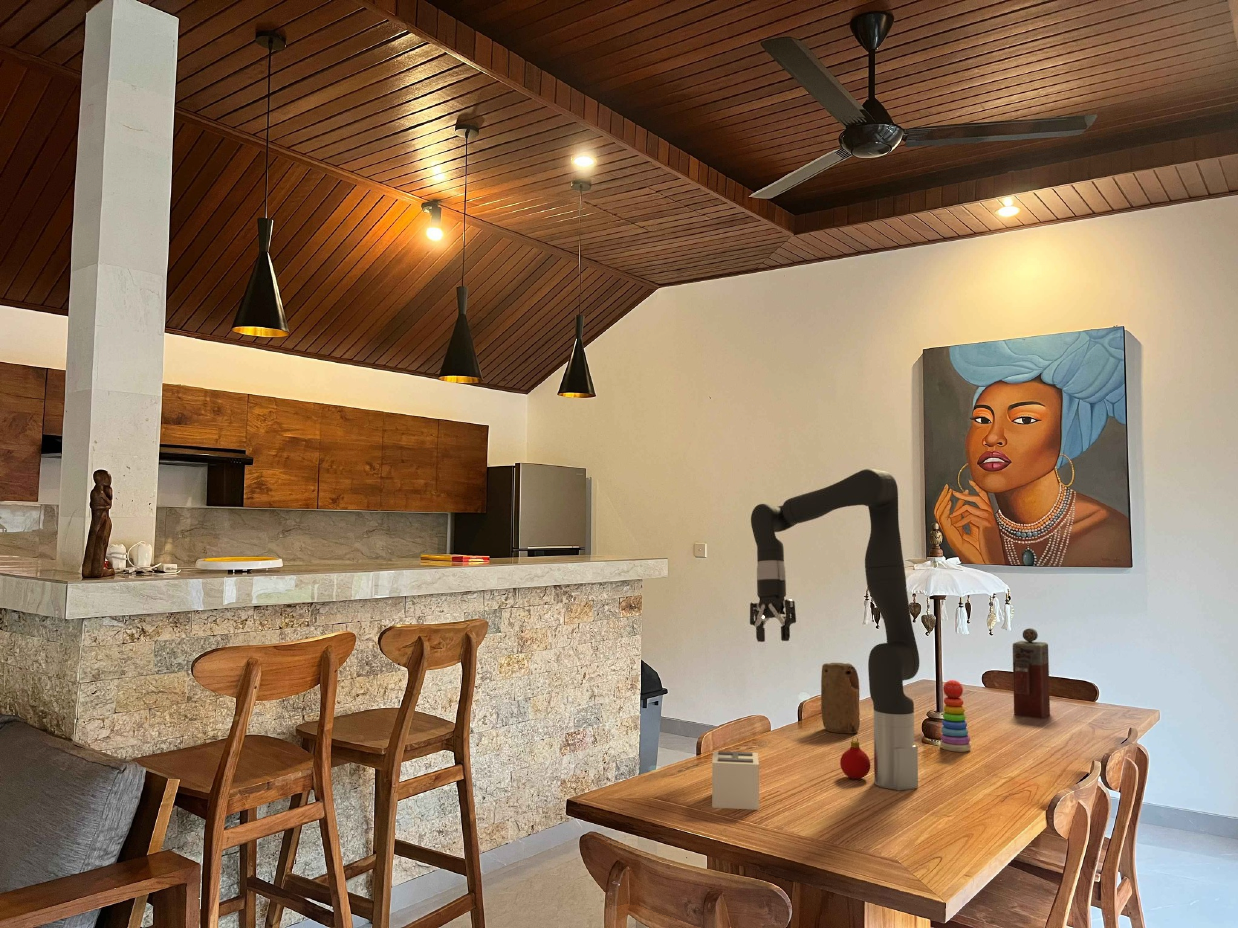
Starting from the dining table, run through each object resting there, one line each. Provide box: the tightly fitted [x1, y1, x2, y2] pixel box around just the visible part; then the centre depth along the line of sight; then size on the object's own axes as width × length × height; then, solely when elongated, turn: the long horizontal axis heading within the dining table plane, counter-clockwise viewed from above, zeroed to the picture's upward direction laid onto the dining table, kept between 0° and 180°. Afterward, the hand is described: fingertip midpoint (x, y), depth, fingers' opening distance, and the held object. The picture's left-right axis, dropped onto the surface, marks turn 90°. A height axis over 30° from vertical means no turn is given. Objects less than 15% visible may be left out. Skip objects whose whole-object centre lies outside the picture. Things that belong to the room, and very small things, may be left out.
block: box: [820, 662, 861, 735], centre depth 268 cm, size 11×8×20 cm
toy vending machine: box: [1012, 627, 1051, 719], centre depth 294 cm, size 9×11×28 cm
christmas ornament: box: [839, 736, 871, 780], centre depth 217 cm, size 7×7×10 cm
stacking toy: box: [939, 679, 972, 753], centre depth 247 cm, size 8×8×19 cm
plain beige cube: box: [711, 750, 760, 811], centre depth 198 cm, size 10×10×10 cm
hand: (773, 641), depth 233 cm, fingers open, 8 cm apart
